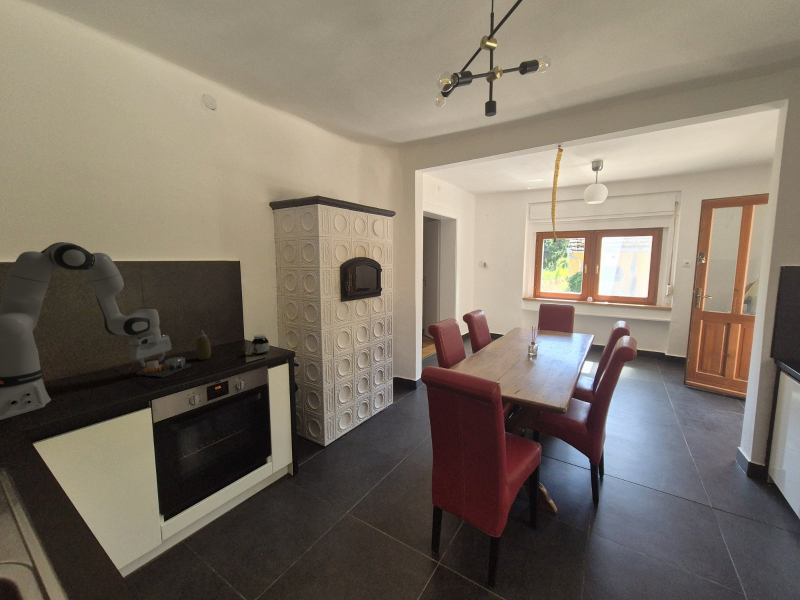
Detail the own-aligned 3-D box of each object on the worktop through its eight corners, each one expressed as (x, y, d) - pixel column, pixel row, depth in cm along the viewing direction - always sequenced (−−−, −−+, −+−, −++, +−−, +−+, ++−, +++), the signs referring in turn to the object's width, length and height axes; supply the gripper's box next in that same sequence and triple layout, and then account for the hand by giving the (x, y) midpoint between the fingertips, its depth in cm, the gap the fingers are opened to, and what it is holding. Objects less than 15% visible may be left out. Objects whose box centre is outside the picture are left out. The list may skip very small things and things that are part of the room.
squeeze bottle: (193, 359, 195) (191, 329, 193) (208, 355, 201) (205, 327, 199) (200, 361, 190) (197, 331, 188) (214, 358, 197) (212, 329, 195)
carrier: (163, 377, 164) (162, 365, 163) (136, 375, 168) (135, 362, 167) (191, 366, 181) (190, 355, 180) (166, 364, 184) (165, 353, 183)
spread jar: (271, 352, 209) (270, 334, 207) (257, 357, 198) (256, 338, 197) (257, 350, 213) (256, 333, 212) (243, 355, 203) (242, 336, 202)
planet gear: (152, 373, 166) (151, 364, 165) (138, 372, 168) (137, 363, 167) (168, 367, 174) (167, 359, 174) (154, 366, 176) (154, 358, 176)
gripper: (164, 333, 180) (166, 357, 181) (125, 342, 160) (128, 369, 162) (173, 333, 178) (175, 358, 180) (135, 342, 159) (138, 370, 160)
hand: (153, 363), depth 171 cm, fingers open, 8 cm apart
